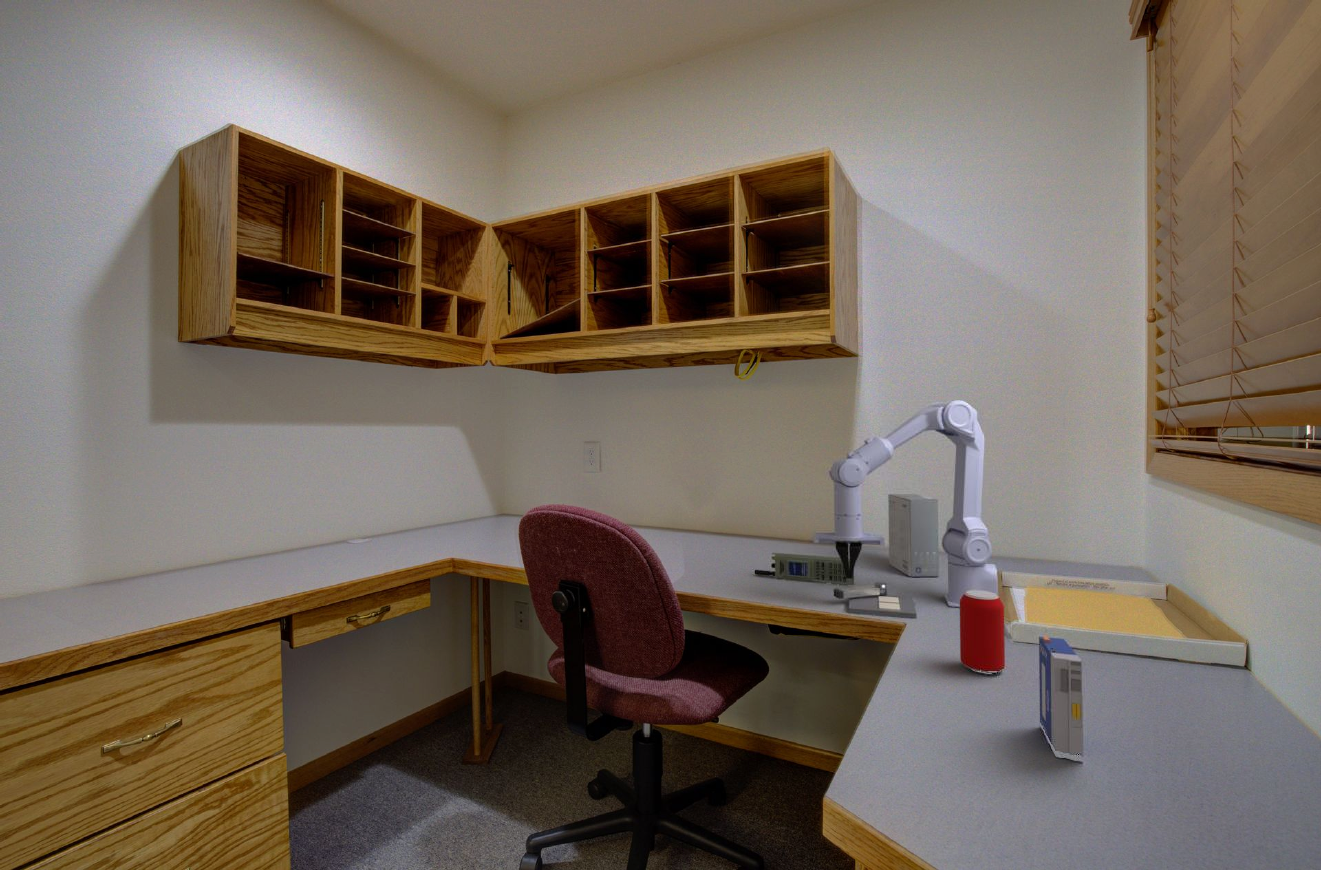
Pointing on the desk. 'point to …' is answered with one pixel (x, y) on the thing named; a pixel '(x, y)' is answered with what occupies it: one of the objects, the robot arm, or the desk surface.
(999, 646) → the beverage can
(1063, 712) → the walkman
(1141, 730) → the desk surface
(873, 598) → the label board
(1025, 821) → the desk surface
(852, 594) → the bar
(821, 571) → the handheld radio
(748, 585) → the desk surface
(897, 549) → the hard drive box
